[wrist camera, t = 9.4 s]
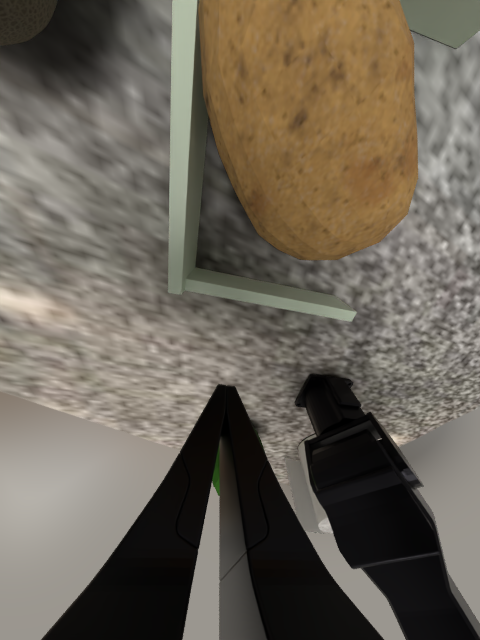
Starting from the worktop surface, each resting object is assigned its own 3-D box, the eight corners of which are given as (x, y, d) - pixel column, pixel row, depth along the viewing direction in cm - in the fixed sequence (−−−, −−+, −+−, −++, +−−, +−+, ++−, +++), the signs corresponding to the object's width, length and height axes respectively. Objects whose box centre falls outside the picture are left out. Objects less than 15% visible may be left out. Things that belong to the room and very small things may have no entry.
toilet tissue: (365, 441, 34) (411, 518, 25) (318, 467, 38) (342, 539, 30) (327, 423, 31) (364, 503, 22) (281, 453, 35) (296, 529, 26)
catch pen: (330, 304, 20) (357, 327, 15) (184, 275, 18) (167, 292, 14) (468, 23, 11) (627, -113, 6) (206, -92, 9) (178, -391, 5)
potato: (289, -33, 10) (419, -658, 3) (380, 198, 15) (504, 178, 8) (175, 127, 13) (102, 14, 6) (285, 274, 18) (315, 307, 11)
